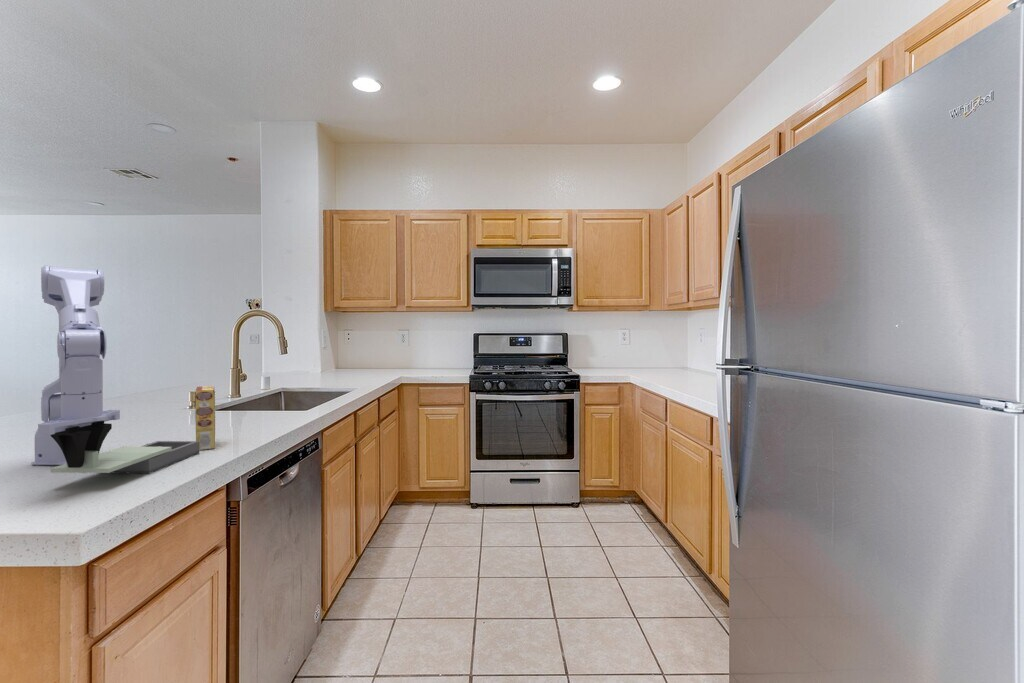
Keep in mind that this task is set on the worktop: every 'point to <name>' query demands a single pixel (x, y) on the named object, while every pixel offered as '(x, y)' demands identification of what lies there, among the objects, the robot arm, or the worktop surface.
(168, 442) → the tub
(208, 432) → the candy box
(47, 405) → the robot arm
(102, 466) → the lid
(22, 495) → the worktop surface
